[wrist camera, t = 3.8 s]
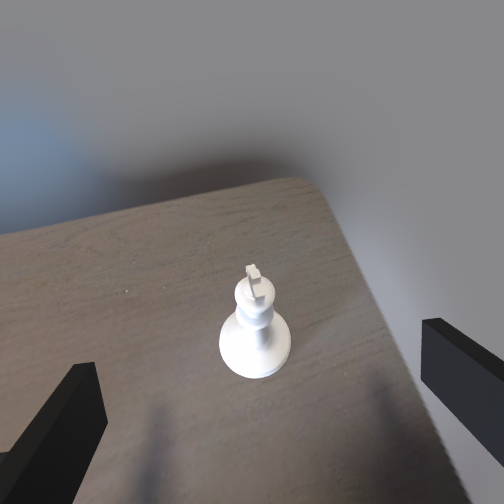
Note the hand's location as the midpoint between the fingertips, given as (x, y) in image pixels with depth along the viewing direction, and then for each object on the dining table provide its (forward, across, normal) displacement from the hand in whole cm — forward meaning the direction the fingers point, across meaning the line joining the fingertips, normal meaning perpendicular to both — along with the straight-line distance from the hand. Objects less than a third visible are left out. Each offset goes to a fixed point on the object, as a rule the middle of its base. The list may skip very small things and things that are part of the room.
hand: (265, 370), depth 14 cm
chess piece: (+10, 0, -4) cm, 11 cm away
